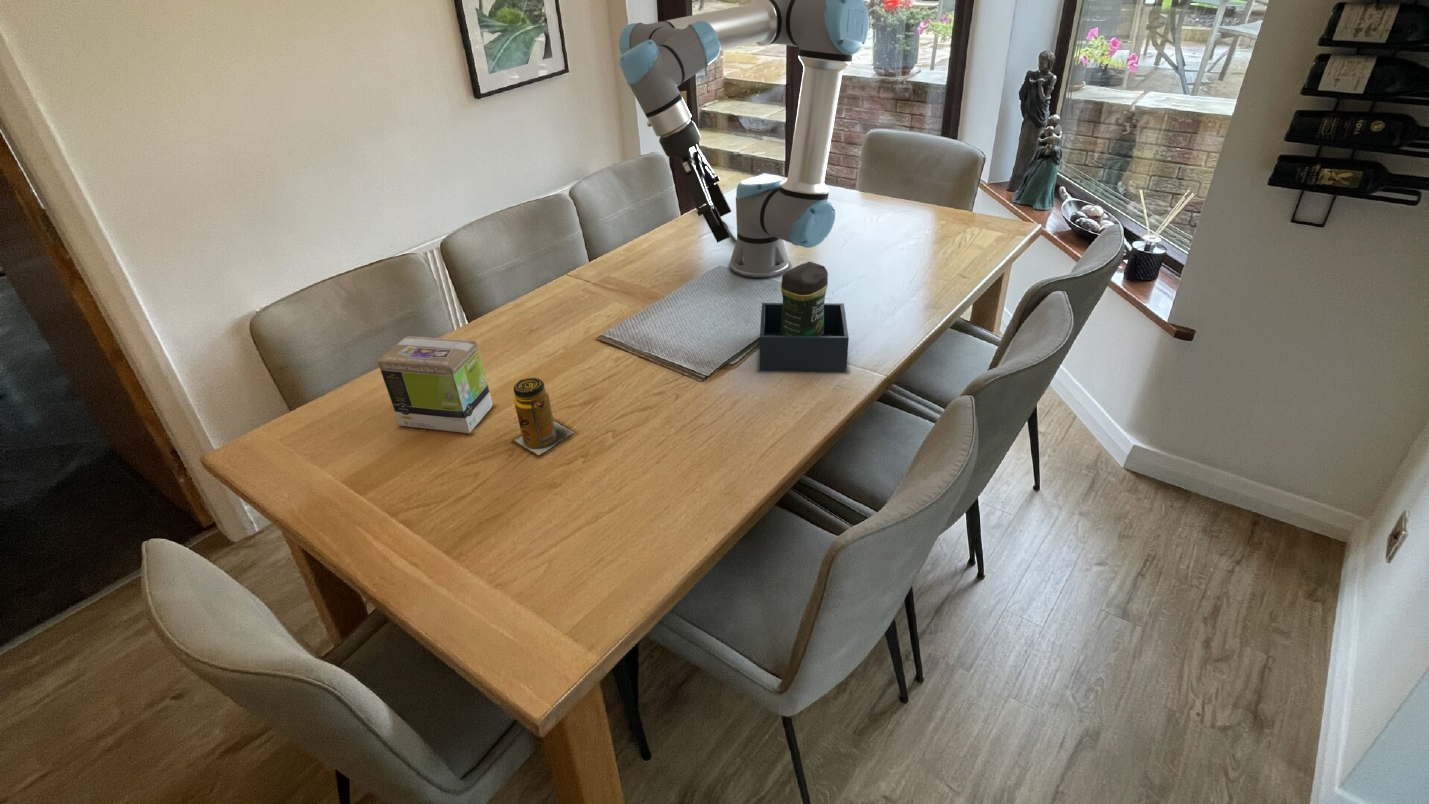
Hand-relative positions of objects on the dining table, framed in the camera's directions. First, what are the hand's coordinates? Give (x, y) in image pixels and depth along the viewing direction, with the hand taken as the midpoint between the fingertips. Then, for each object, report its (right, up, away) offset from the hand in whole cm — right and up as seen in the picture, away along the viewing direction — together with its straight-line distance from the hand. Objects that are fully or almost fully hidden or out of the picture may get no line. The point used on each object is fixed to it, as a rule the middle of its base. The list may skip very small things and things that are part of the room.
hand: (724, 226), depth 148 cm
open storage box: (+17, -25, +8) cm, 31 cm away
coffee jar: (+17, -25, +7) cm, 31 cm away
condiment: (-33, -42, -14) cm, 56 cm away
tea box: (-54, -39, -7) cm, 66 cm away
